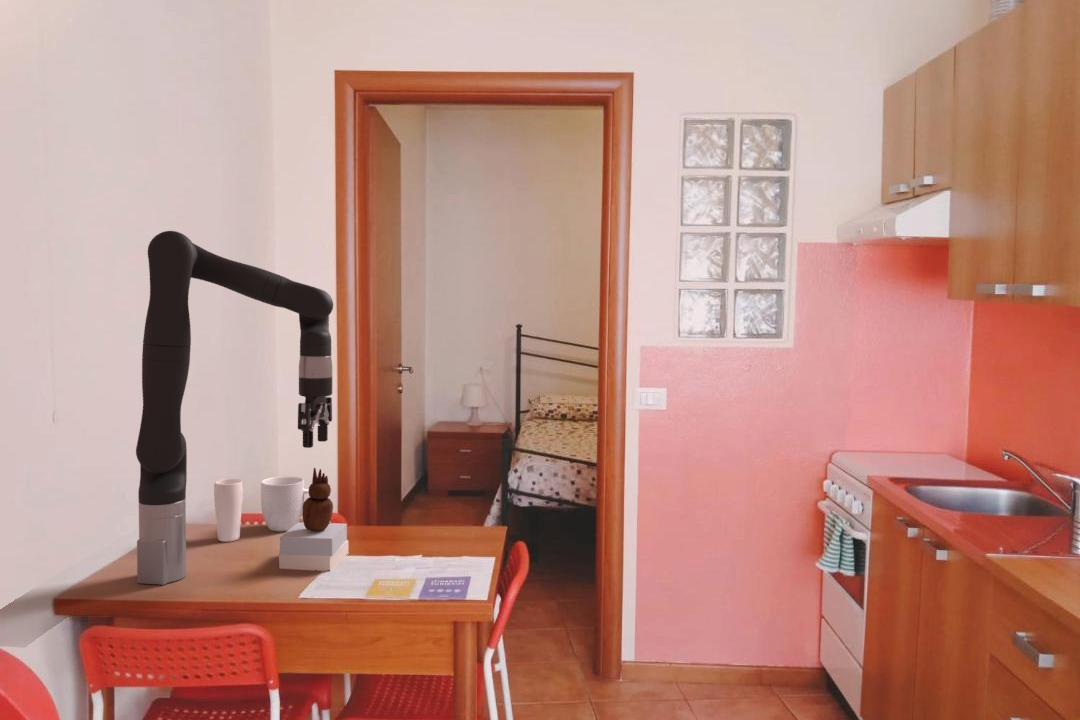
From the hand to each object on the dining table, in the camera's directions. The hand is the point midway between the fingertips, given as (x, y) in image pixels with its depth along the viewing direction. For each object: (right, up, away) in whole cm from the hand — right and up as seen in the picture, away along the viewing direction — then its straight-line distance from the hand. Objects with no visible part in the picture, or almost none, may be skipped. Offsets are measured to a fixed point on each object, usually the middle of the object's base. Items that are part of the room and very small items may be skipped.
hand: (315, 444), depth 179 cm
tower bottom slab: (-1, -28, +2) cm, 28 cm away
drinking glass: (-27, -26, +17) cm, 41 cm away
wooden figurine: (0, -20, +1) cm, 20 cm away
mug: (-16, -26, +28) cm, 41 cm away
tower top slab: (-1, -24, +1) cm, 24 cm away
